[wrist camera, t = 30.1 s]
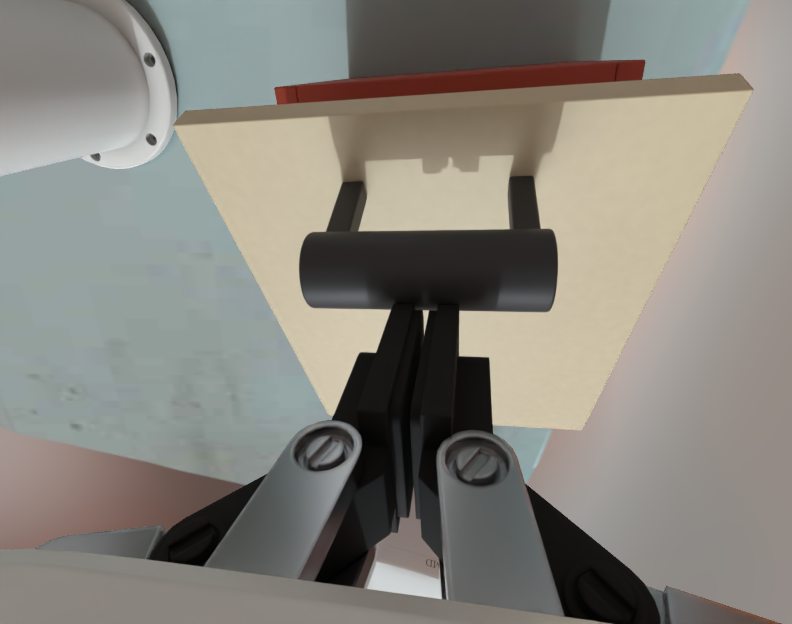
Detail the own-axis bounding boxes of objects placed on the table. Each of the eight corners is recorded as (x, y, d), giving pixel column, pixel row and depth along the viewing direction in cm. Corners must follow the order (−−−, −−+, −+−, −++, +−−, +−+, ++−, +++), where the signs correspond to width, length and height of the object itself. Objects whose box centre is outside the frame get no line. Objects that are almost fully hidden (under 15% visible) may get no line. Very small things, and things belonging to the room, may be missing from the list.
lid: (184, 110, 13) (82, 226, 10) (740, 72, 10) (862, 212, 7) (331, 402, 27) (310, 489, 24) (580, 416, 25) (595, 515, 22)
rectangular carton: (487, 443, 45) (492, 594, 32) (462, 495, 49) (457, 646, 37) (403, 419, 45) (374, 561, 32) (386, 473, 50) (355, 616, 37)
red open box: (348, 78, 30) (273, 87, 19) (576, 61, 27) (646, 59, 16) (373, 305, 39) (332, 403, 28) (547, 308, 36) (579, 417, 25)
